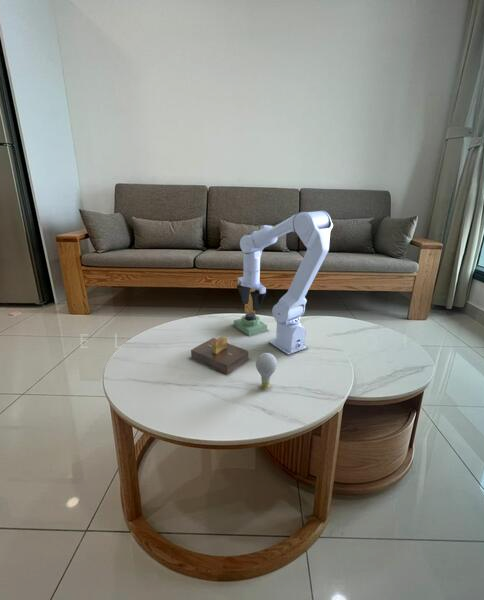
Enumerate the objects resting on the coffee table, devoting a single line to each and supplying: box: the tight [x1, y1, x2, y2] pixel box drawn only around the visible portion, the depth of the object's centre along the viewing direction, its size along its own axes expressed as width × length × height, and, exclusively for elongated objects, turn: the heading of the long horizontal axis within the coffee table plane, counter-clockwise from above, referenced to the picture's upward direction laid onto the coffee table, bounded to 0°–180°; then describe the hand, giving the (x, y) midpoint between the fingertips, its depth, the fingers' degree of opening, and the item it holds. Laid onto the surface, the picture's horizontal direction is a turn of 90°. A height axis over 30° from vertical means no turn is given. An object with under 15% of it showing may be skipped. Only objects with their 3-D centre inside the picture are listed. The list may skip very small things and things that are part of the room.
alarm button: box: [245, 312, 256, 321], centre depth 116 cm, size 4×4×2 cm
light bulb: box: [255, 352, 278, 389], centre depth 83 cm, size 6×6×10 cm
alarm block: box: [233, 314, 268, 337], centre depth 117 cm, size 10×8×4 cm
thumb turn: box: [212, 335, 228, 354], centre depth 95 cm, size 5×2×4 cm, turn 145°
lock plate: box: [190, 337, 249, 375], centre depth 97 cm, size 14×10×3 cm
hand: (250, 306), depth 115 cm, fingers open, 6 cm apart
